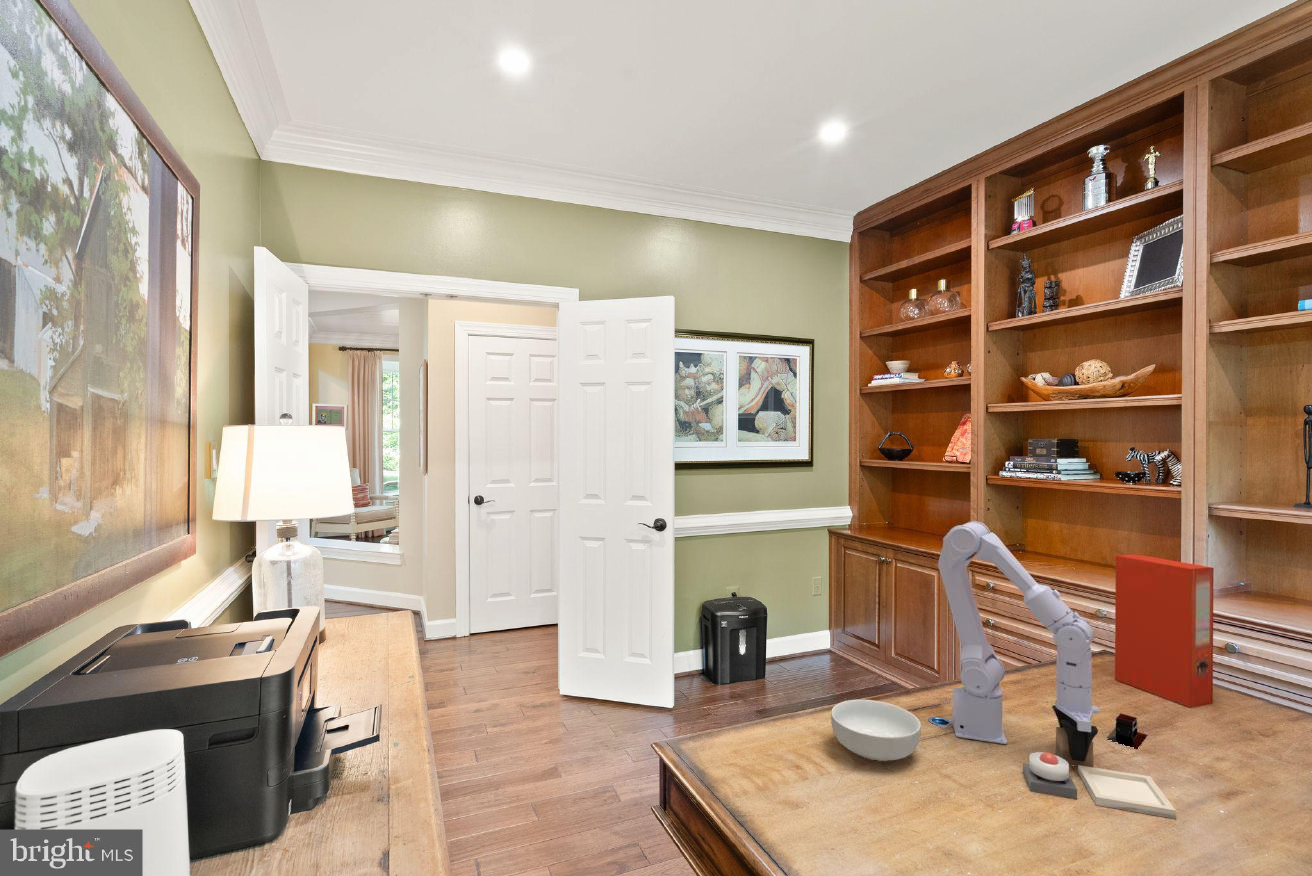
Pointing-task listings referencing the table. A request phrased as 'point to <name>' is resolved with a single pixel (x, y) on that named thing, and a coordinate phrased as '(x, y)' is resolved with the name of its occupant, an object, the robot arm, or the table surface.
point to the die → (1064, 752)
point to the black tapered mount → (1127, 732)
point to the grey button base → (1049, 784)
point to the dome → (1049, 766)
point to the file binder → (1165, 628)
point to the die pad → (1126, 791)
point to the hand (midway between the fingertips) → (1074, 752)
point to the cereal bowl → (876, 729)
